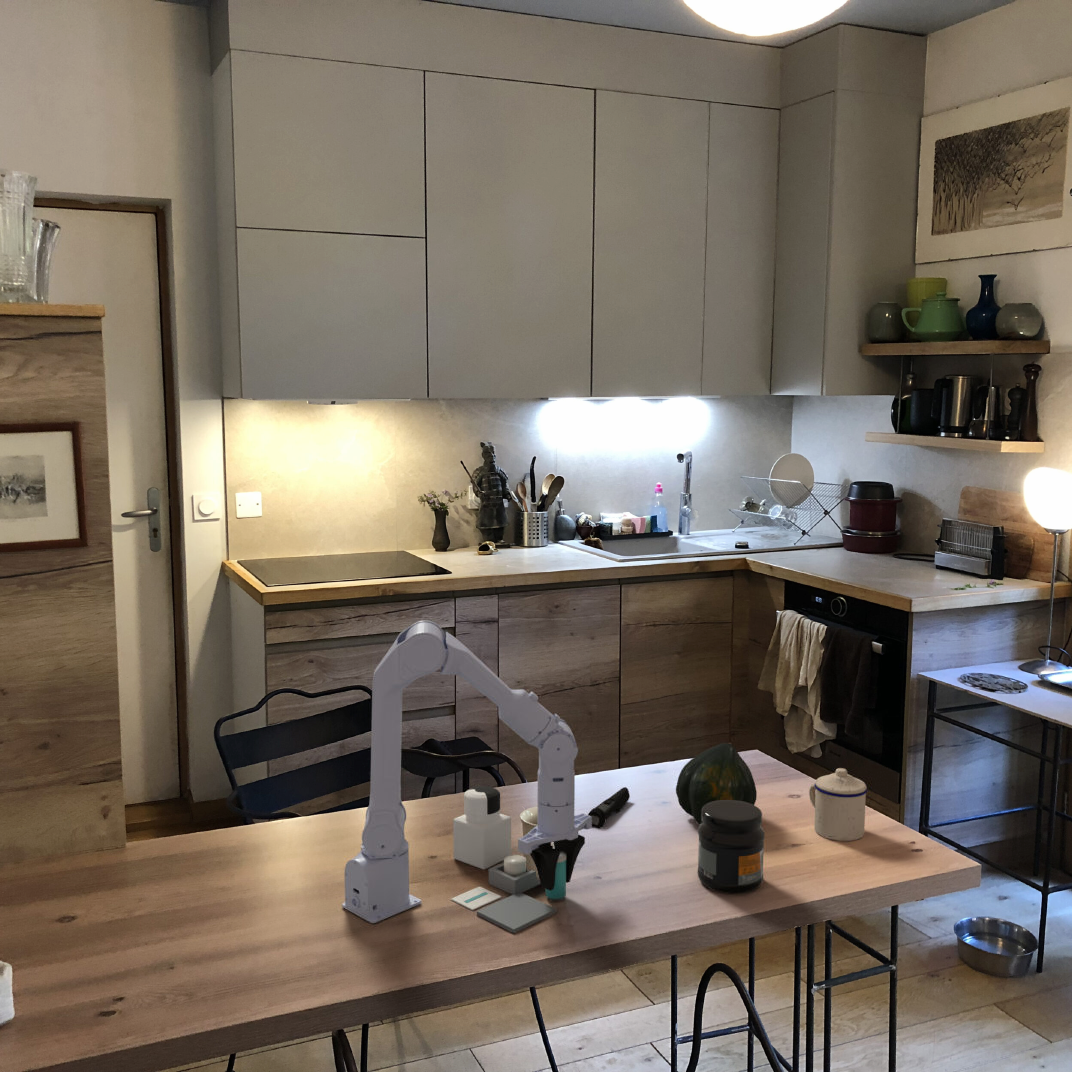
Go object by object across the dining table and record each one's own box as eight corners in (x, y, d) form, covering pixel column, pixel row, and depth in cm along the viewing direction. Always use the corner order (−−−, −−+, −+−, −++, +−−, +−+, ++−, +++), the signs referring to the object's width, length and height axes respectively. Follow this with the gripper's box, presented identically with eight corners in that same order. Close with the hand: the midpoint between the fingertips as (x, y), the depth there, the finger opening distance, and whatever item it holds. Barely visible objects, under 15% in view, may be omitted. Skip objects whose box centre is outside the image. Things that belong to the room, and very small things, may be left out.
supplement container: (777, 886, 172) (779, 814, 171) (726, 902, 167) (728, 827, 165) (733, 862, 181) (734, 793, 180) (683, 876, 176) (685, 805, 174)
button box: (514, 895, 169) (514, 880, 168) (488, 883, 173) (488, 868, 173) (541, 883, 173) (541, 868, 173) (515, 872, 177) (515, 857, 177)
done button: (514, 882, 170) (515, 866, 170) (499, 875, 173) (499, 859, 172) (531, 875, 173) (531, 859, 172) (515, 868, 175) (515, 853, 175)
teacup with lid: (876, 836, 192) (879, 773, 191) (838, 846, 188) (841, 781, 186) (827, 813, 202) (830, 753, 201) (791, 822, 198) (793, 761, 197)
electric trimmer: (634, 803, 209) (635, 787, 208) (601, 830, 195) (602, 813, 195) (616, 800, 210) (617, 784, 210) (583, 826, 197) (583, 809, 196)
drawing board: (513, 933, 157) (513, 929, 157) (476, 914, 162) (476, 911, 162) (556, 912, 163) (556, 908, 163) (519, 895, 169) (519, 891, 169)
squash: (658, 800, 194) (715, 743, 191) (666, 776, 209) (720, 722, 205) (716, 857, 193) (775, 800, 189) (720, 828, 207) (775, 775, 204)
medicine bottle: (481, 845, 188) (480, 779, 186) (512, 856, 183) (512, 788, 182) (452, 859, 182) (452, 790, 181) (484, 870, 178) (483, 800, 176)
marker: (556, 904, 166) (556, 861, 165) (540, 897, 168) (540, 854, 167) (570, 897, 168) (570, 854, 167) (555, 890, 170) (555, 848, 169)
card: (472, 910, 164) (472, 908, 164) (450, 899, 167) (450, 898, 167) (501, 897, 168) (501, 896, 168) (479, 887, 171) (479, 886, 171)
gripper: (541, 819, 158) (541, 907, 160) (606, 794, 168) (605, 877, 170) (508, 807, 163) (508, 892, 165) (573, 783, 173) (572, 864, 175)
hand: (555, 884), depth 168 cm, fingers closed on marker, 3 cm apart
